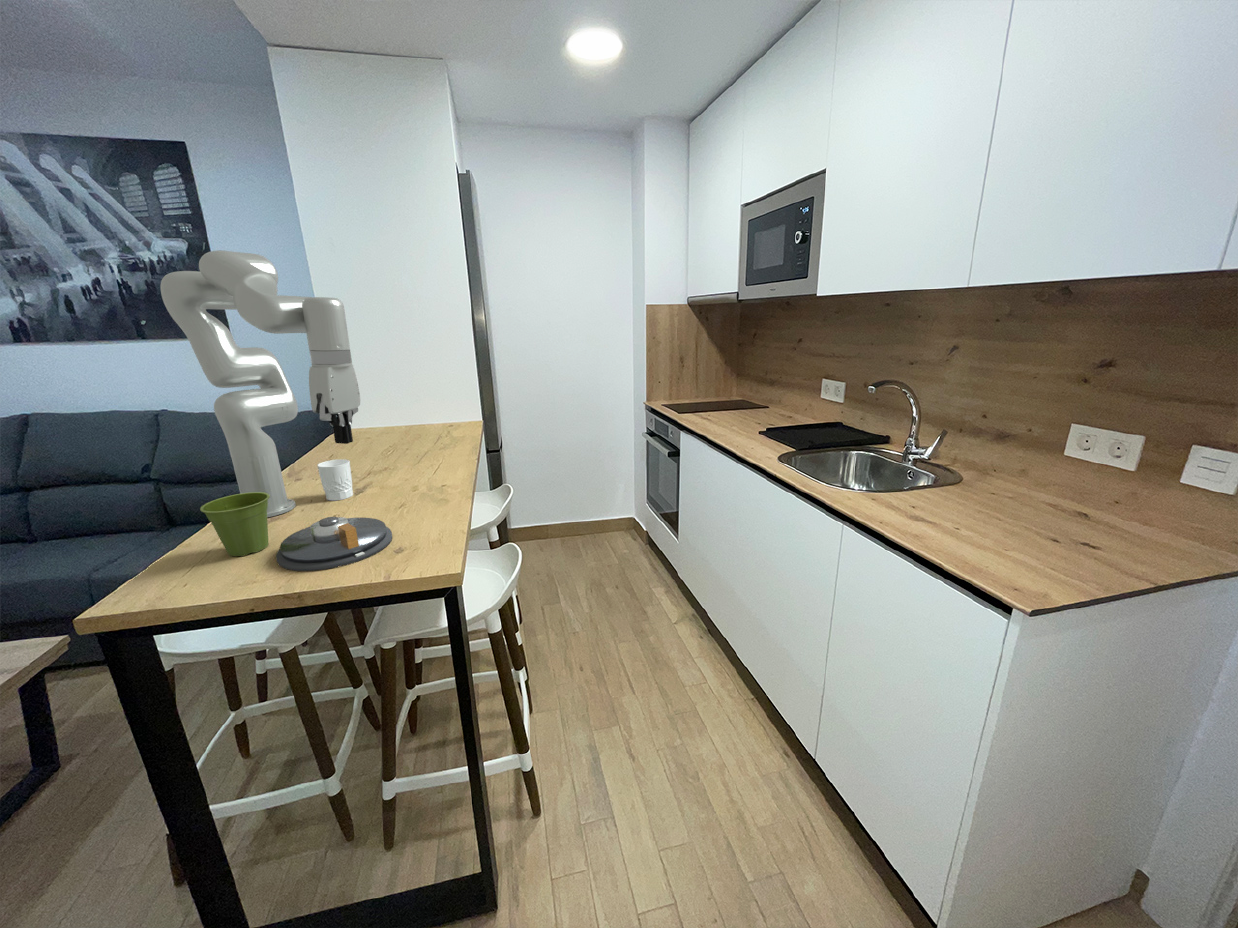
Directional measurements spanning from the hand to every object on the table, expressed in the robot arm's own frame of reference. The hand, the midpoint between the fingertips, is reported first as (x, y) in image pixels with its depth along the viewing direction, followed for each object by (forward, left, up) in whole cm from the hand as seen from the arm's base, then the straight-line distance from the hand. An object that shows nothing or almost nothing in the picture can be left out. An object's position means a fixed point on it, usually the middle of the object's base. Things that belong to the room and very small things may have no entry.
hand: (344, 442), depth 110 cm
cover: (0, -9, -19) cm, 21 cm away
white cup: (-22, +23, -22) cm, 38 cm away
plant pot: (-19, -11, -22) cm, 31 cm away
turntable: (0, -8, -20) cm, 22 cm away
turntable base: (0, -8, -21) cm, 23 cm away
